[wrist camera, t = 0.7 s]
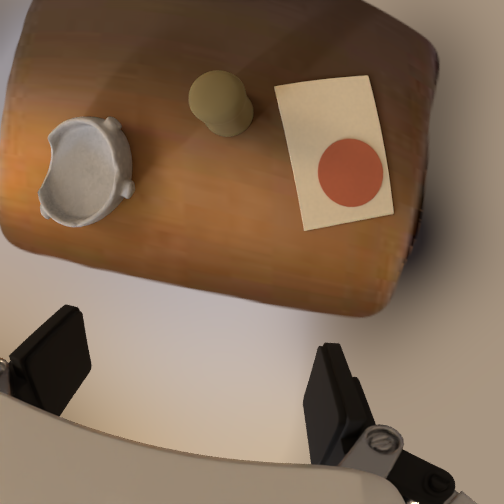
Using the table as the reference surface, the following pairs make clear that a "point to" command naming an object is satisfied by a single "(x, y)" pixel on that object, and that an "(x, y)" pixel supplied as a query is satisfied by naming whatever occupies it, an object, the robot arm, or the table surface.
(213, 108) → the cork
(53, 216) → the dish
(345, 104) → the placemat
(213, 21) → the table surface
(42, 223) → the table surface
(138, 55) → the table surface
